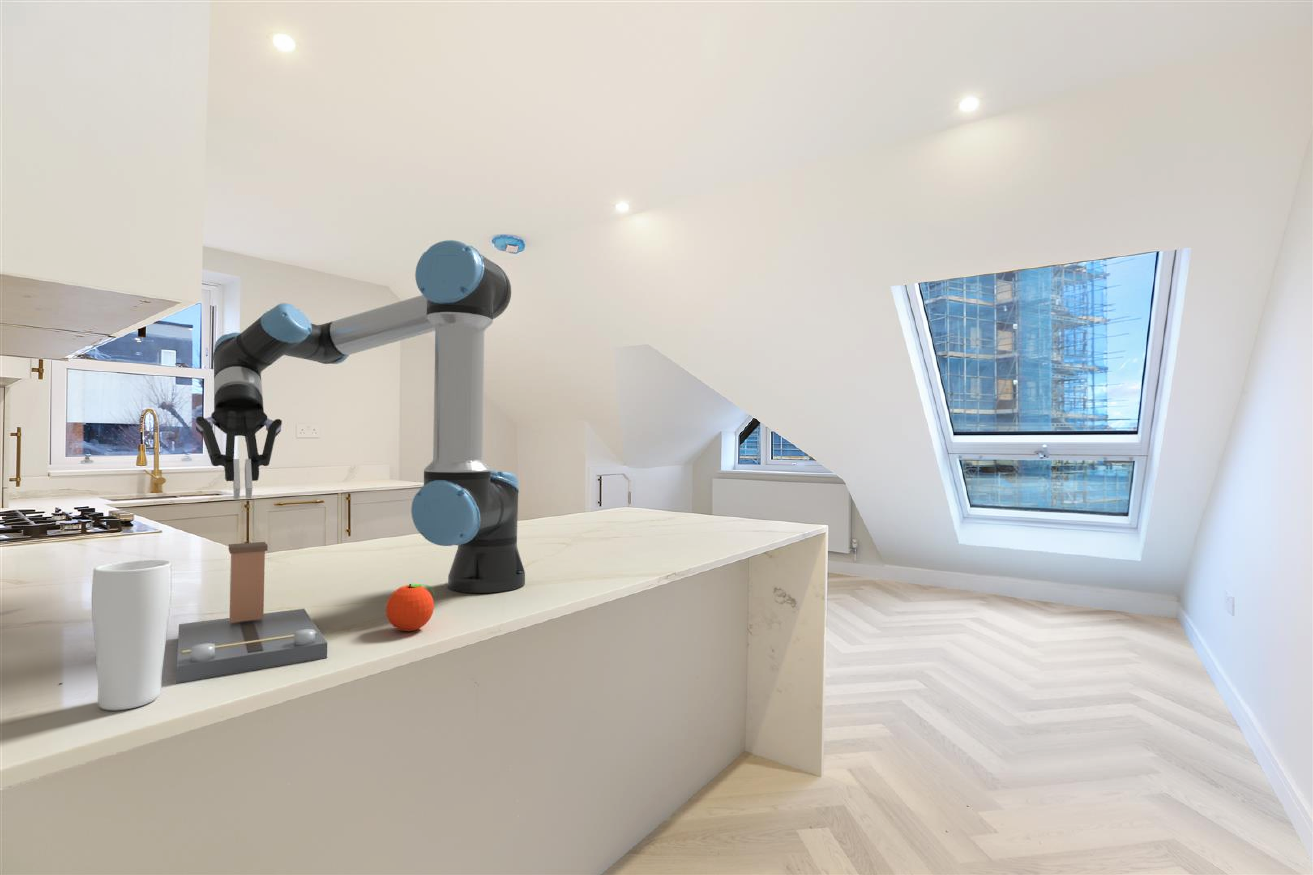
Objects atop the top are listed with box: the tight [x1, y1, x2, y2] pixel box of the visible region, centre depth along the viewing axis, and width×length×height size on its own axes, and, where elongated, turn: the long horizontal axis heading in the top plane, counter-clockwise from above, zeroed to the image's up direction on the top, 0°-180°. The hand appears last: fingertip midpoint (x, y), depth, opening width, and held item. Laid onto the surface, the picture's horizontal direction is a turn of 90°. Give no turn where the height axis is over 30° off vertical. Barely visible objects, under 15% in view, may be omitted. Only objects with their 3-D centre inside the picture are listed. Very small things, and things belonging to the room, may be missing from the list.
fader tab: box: [228, 541, 268, 623], centre depth 94 cm, size 5×4×11 cm
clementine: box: [385, 583, 436, 632], centre depth 98 cm, size 8×7×7 cm
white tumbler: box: [91, 559, 173, 711], centre depth 69 cm, size 7×7×15 cm
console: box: [176, 608, 328, 684], centre depth 88 cm, size 16×21×4 cm
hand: (243, 493), depth 104 cm, fingers closed
